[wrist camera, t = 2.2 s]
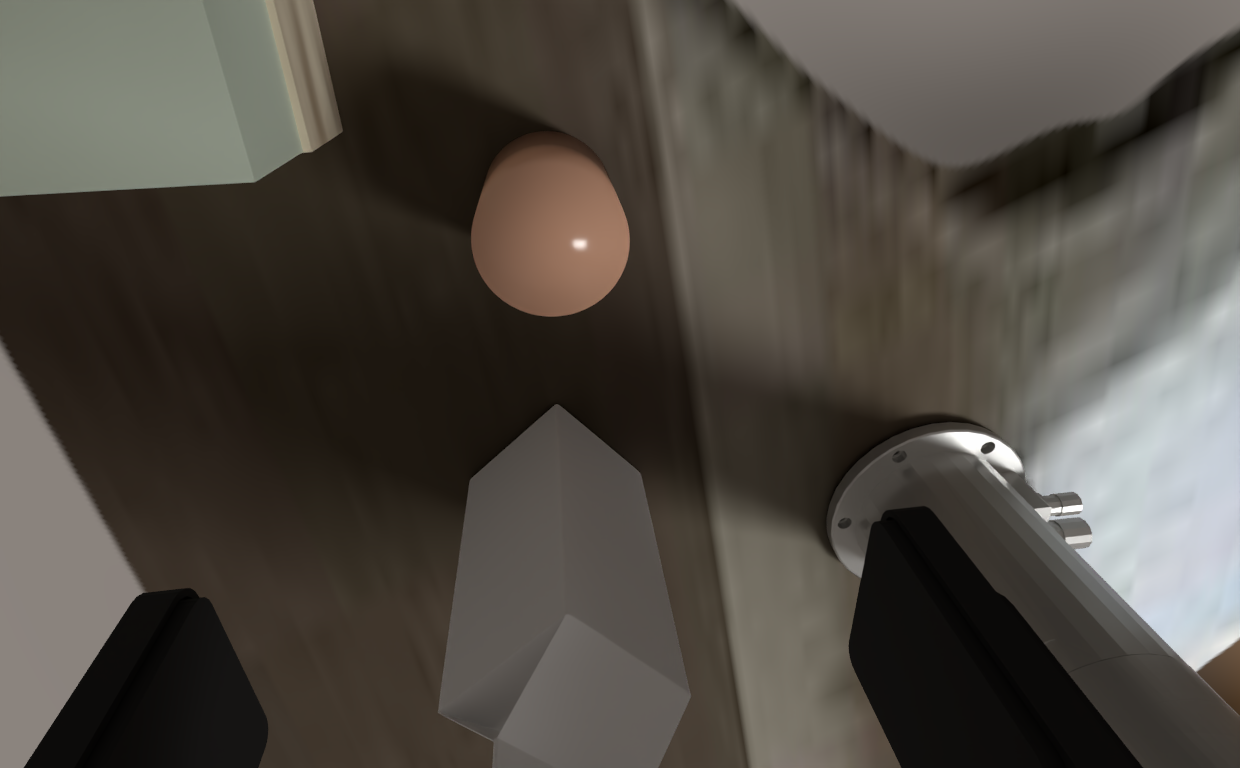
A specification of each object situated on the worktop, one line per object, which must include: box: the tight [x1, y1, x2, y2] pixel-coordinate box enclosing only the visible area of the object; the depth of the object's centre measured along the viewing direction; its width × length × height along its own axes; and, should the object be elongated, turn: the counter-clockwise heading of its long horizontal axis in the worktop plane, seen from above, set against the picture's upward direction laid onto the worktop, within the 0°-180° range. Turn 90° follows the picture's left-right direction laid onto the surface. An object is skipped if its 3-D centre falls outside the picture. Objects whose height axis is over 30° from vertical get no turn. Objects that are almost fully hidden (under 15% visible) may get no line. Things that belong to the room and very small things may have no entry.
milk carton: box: [438, 404, 691, 768], centre depth 31 cm, size 7×7×19 cm
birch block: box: [265, 0, 343, 153], centre depth 25 cm, size 9×9×5 cm
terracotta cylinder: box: [471, 131, 630, 317], centre depth 29 cm, size 6×6×7 cm
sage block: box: [0, 0, 303, 196], centre depth 21 cm, size 8×8×5 cm
